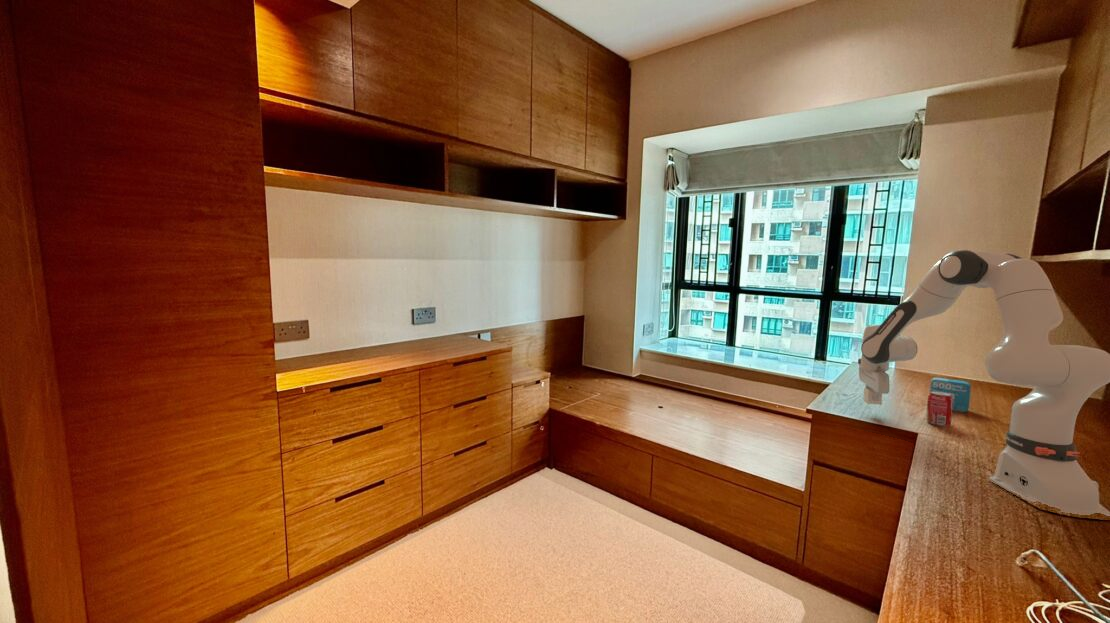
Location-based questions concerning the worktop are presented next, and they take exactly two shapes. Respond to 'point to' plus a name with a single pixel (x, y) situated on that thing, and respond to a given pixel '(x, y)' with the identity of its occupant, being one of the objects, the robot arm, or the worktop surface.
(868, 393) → the cream block
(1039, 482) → the robot arm
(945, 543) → the worktop surface
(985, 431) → the worktop surface
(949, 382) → the data package
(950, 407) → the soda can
